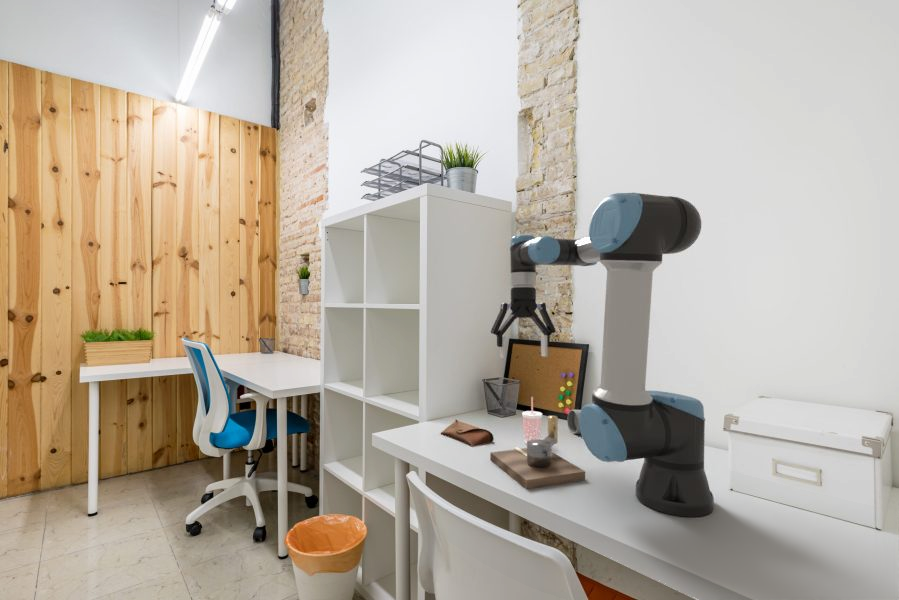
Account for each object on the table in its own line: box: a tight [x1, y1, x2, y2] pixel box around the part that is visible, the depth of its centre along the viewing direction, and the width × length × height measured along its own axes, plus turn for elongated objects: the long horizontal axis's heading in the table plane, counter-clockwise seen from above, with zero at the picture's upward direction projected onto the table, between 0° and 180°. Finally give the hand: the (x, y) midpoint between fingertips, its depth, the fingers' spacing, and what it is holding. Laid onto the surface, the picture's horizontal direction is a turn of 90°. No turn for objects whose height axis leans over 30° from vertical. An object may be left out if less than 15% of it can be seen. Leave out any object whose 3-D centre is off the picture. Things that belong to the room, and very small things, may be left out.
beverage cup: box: [521, 396, 543, 445], centre depth 137 cm, size 6×6×14 cm
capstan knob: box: [526, 415, 559, 467], centre depth 118 cm, size 15×6×9 cm, turn 149°
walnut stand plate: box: [489, 446, 586, 490], centre depth 116 cm, size 20×16×2 cm
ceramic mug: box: [566, 409, 581, 435], centre depth 149 cm, size 11×8×8 cm
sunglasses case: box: [440, 419, 494, 448], centre depth 143 cm, size 18×7×7 cm
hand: (523, 357), depth 137 cm, fingers open, 13 cm apart
